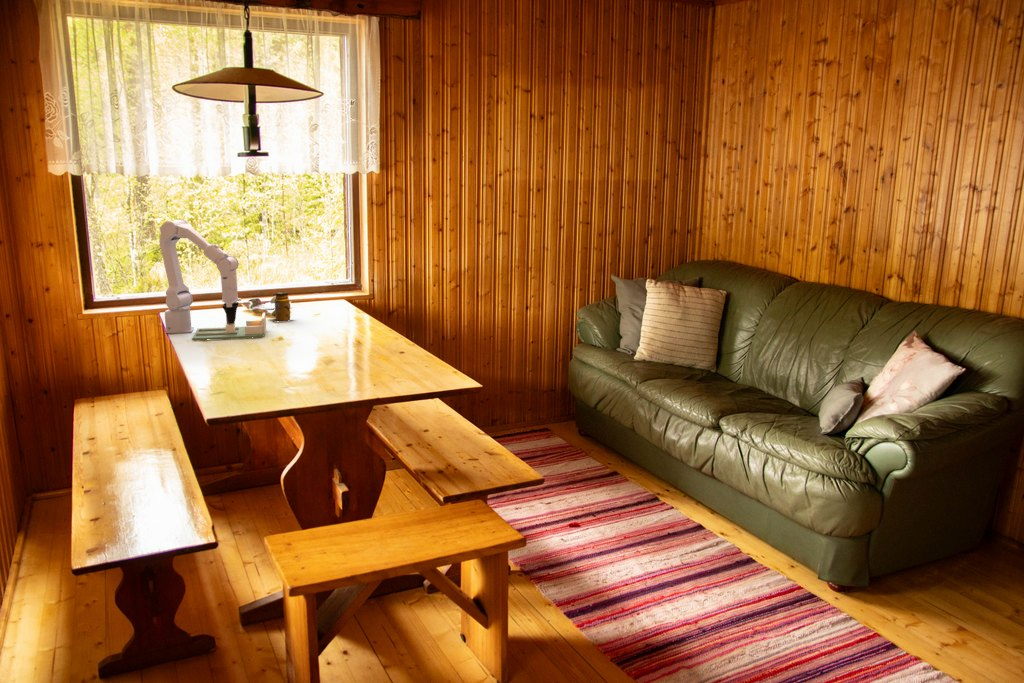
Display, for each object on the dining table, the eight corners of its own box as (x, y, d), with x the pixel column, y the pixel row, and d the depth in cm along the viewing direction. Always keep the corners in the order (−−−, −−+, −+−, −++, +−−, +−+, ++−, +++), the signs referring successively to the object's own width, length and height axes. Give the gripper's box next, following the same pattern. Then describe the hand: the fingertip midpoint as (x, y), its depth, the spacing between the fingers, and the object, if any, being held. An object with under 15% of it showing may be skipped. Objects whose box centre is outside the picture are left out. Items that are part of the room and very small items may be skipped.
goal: (245, 334, 317) (244, 319, 316) (246, 328, 329) (245, 313, 327) (265, 333, 319) (264, 318, 318) (266, 327, 330) (265, 312, 329)
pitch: (192, 340, 310) (191, 336, 310) (197, 330, 327) (197, 326, 327) (263, 337, 316) (263, 333, 316) (265, 328, 333) (264, 323, 333)
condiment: (294, 320, 349) (292, 292, 347) (276, 323, 344) (274, 295, 341) (285, 317, 354) (284, 290, 352) (267, 320, 349) (266, 292, 346)
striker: (226, 333, 318) (224, 315, 317) (227, 329, 324) (226, 312, 322) (234, 332, 319) (232, 315, 317) (235, 329, 325) (234, 312, 323)
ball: (258, 333, 322) (249, 329, 321) (259, 331, 326) (249, 327, 325) (262, 324, 322) (253, 320, 321) (263, 322, 326) (253, 318, 325)
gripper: (239, 290, 312) (241, 325, 315) (241, 284, 326) (243, 317, 329) (219, 291, 310) (222, 326, 313) (222, 285, 324) (225, 318, 327)
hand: (231, 322), depth 321 cm, fingers open, 3 cm apart
